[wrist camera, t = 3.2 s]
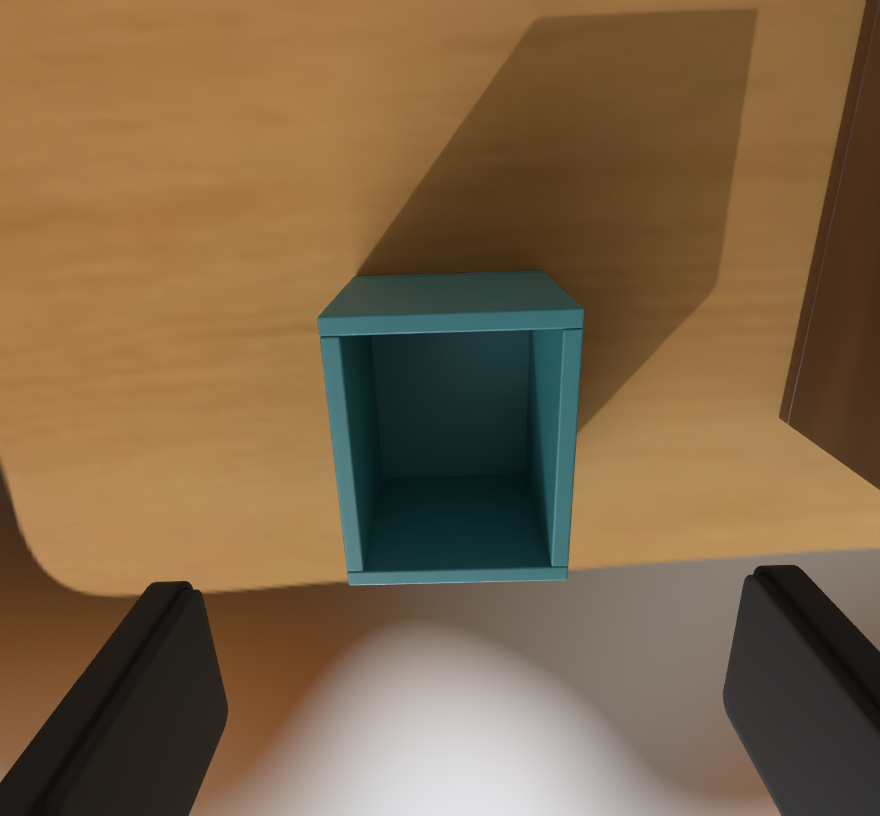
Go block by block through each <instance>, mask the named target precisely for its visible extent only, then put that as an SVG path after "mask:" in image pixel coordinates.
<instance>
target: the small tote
mask: <svg viewBox="0 0 880 816" xmlns="http://www.w3.org/2000/svg"><path fill="white" fill-rule="evenodd" d="M584 311H585V310H584V308H583V307H582V306H581V305H580V304H579V303H578V302H577V301H576V300H574V299H573V298H572V297H571V296H570V295H569V294H568V293H567V292H566V291H565V290H564V289H563V288H561V287H560V286H559V285H558V284H557V283H556V282H555V281H554V280H553V279H552V278H551V277H550V276H548V275H547V274H546V273H545V272H544V271H543V270H531V271H501V272H471V273H441V274H411V275H381V276H355V277H353V278H352V280H351V281H350V282H349V283H348V284H347V285H346V286H345V287H344V289H343V290H342V291H341V292H340V293H339V294H338V295H337V296H336V297H335V299H334V300H333V301H332V302H331V303H330V304H329V305H328V306H327V308H326V309H325V310H324V311H323V312H322V313H321V314H320V315H319V316H318V326H319V334H320V336H321V337H320V343H321V351H322V360H323V368H324V377H325V385H326V394H327V402H328V411H329V420H330V428H331V437H332V445H333V454H334V462H335V471H336V479H337V488H338V497H339V505H340V514H341V522H342V531H343V539H344V548H345V556H346V565H347V570H348V572H347V574H348V582H349V585H382V584H421V583H463V582H503V581H505V582H506V581H543V580H545V581H547V580H566V579H567V577H568V561H569V546H570V530H571V514H572V499H573V483H574V467H575V452H576V436H577V420H578V405H579V389H580V373H581V358H582V342H583V329H582V327H583V326H584Z"/></svg>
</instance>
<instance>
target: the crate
mask: <svg viewBox="0 0 880 816" xmlns="http://www.w3.org/2000/svg"><path fill="white" fill-rule="evenodd" d="M779 418H780V419H781V420H783V421H784V422H785V423H787V424H789V425H790V426H791V427H792V428H794V429H795V430H797V431H798V432H799V433H801V434H802V435H804V436H805V437H806V438H808V439H809V440H811V441H812V442H813V443H815V444H816V445H818V446H819V447H820V448H822V449H823V450H824V451H826V452H827V453H829V454H830V455H831V456H833V457H834V458H836V459H837V460H838V461H840V462H841V463H843V464H844V465H845V466H847V467H848V468H850V469H851V470H852V471H854V472H855V473H857V474H858V475H859V476H861V477H862V478H864V479H865V480H866V481H868V482H869V483H871V484H872V485H873V486H875V487H876V488H878V489H879V490H880V0H867V1H866V6H865V11H864V16H863V20H862V25H861V30H860V35H859V39H858V44H857V49H856V54H855V58H854V63H853V68H852V73H851V78H850V82H849V87H848V92H847V97H846V101H845V106H844V111H843V116H842V120H841V125H840V130H839V135H838V139H837V144H836V149H835V154H834V158H833V163H832V168H831V173H830V177H829V182H828V187H827V192H826V196H825V201H824V206H823V211H822V215H821V220H820V225H819V230H818V234H817V239H816V244H815V249H814V253H813V258H812V263H811V268H810V272H809V277H808V282H807V287H806V291H805V296H804V301H803V306H802V310H801V315H800V320H799V325H798V330H797V334H796V339H795V344H794V349H793V353H792V358H791V363H790V368H789V372H788V377H787V382H786V387H785V391H784V396H783V401H782V406H781V410H780V415H779Z"/></svg>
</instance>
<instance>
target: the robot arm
mask: <svg viewBox="0 0 880 816" xmlns="http://www.w3.org/2000/svg"><path fill="white" fill-rule="evenodd" d="M723 701H724V706H725V710H726V713H727V715H728V717H729V719H730V721H731V723H732V725H733V727H734V729H735V731H736V732H737V734H738V736H739V738H740V740H741V741H742V743H743V745H744V747H745V749H746V751H747V753H748V755H749V756H750V758H751V760H752V762H753V764H754V766H755V768H756V769H757V771H758V773H759V775H760V777H761V779H762V780H763V782H764V784H765V786H766V788H767V790H768V792H769V793H770V795H771V797H772V799H773V801H774V803H775V805H776V806H777V808H778V810H779V812H780V814H781V816H880V652H879V651H878V650H877V649H876V648H875V646H874V645H873V644H872V643H871V642H870V641H869V640H868V639H867V638H866V637H865V636H864V635H863V634H862V633H861V632H860V631H859V630H858V629H857V627H856V626H855V625H854V624H853V623H852V622H851V621H850V620H849V619H848V618H847V617H846V616H845V615H844V614H843V613H842V612H841V611H840V609H839V608H837V606H836V605H835V604H834V603H833V602H832V601H831V600H830V599H829V598H828V597H827V596H826V595H825V594H824V592H822V590H821V589H820V588H819V587H818V586H817V585H816V584H815V583H814V582H813V581H812V580H811V579H810V578H809V577H808V576H807V575H806V573H805V572H804V571H803V570H801V569H800V568H799V567H798V566H795V565H772V566H771V565H770V566H759V567H757V568H756V569H755V570H754V573H753V575H748V576H747V577H746V578H745V580H744V585H743V590H742V595H741V600H740V606H739V611H738V616H737V622H736V627H735V632H734V637H733V643H732V649H731V654H730V659H729V664H728V670H727V675H726V680H725V685H724V690H723ZM227 714H228V705H227V699H226V695H225V691H224V686H223V682H222V678H221V673H220V669H219V665H218V660H217V656H216V652H215V647H214V643H213V639H212V635H211V630H210V626H209V622H208V617H207V613H206V608H205V605H204V600H203V596H202V593H201V592H200V590H193V588H192V585H191V584H190V583H189V582H187V581H174V582H154V583H151V584H150V585H149V586H148V587H147V589H146V590H145V591H144V593H143V594H142V595H141V597H140V598H139V599H138V601H137V602H136V603H135V605H134V606H133V607H132V609H131V610H130V611H129V613H128V614H127V615H126V617H125V618H124V619H123V621H122V622H121V623H120V625H119V626H118V628H117V629H116V630H115V631H114V633H113V634H112V635H111V637H110V638H109V639H108V641H107V642H106V643H105V645H104V646H103V647H102V649H101V650H100V651H99V653H98V654H97V655H96V657H95V658H94V659H93V661H92V662H91V664H90V665H89V666H88V667H87V669H86V670H85V671H84V673H83V674H82V675H81V676H80V677H79V679H78V680H77V681H76V683H75V684H74V685H73V687H72V688H71V689H70V690H69V692H68V693H67V695H66V696H65V697H64V698H63V700H62V702H60V704H59V705H58V706H57V708H56V709H55V710H54V712H53V713H52V714H51V716H50V717H49V718H48V720H47V721H46V722H45V724H44V725H43V726H42V728H41V729H40V730H39V732H38V733H37V734H36V736H35V737H34V739H33V740H32V741H31V742H30V744H29V745H28V746H27V748H26V749H25V750H24V752H23V753H22V754H21V756H20V757H19V759H18V760H17V761H16V762H15V764H14V765H13V766H12V768H11V769H10V770H9V772H8V773H7V774H6V776H5V777H4V778H3V780H2V781H1V782H0V816H189V813H190V811H191V809H192V806H193V804H194V801H195V799H196V796H197V794H198V791H199V789H200V787H201V784H202V782H203V779H204V777H205V774H206V772H207V770H208V767H209V765H210V762H211V760H212V757H213V755H214V753H215V750H216V748H217V745H218V742H219V740H220V738H221V735H222V733H223V731H224V728H225V725H226V721H227Z"/></svg>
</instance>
